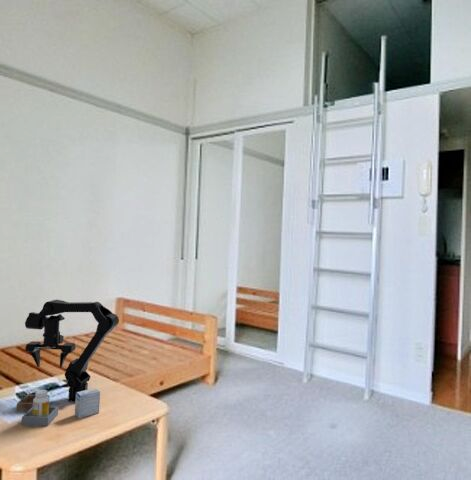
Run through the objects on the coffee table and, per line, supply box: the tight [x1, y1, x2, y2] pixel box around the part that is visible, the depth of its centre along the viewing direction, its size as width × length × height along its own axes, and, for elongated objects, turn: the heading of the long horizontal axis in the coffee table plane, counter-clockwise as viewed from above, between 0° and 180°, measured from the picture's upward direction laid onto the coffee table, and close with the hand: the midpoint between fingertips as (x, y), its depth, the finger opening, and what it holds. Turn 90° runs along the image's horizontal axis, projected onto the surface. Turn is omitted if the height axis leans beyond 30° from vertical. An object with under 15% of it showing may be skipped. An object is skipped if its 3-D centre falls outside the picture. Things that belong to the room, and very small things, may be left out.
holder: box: [16, 394, 50, 412], centre depth 160 cm, size 9×9×3 cm
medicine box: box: [74, 387, 101, 419], centre depth 156 cm, size 8×4×9 cm, turn 134°
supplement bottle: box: [33, 389, 50, 417], centre depth 150 cm, size 5×5×10 cm
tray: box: [21, 406, 59, 427], centre depth 150 cm, size 9×9×3 cm
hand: (49, 367), depth 171 cm, fingers open, 9 cm apart
